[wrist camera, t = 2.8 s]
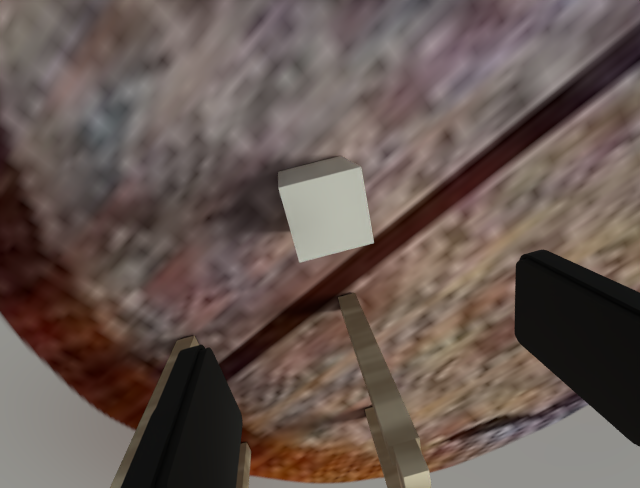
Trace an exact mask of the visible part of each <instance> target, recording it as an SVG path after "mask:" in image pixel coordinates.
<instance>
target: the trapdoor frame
mask: <svg viewBox="0 0 640 488" xmlns="http://www.w3.org/2000/svg"><path fill="white" fill-rule="evenodd" d="M338 300H339V304H340V308H341V312H342V315H343V318H344V321H345V324H346V327H347V330H348V333H349V336H350V339H351V342H352V345H353V348H354V351H355V354H356V357H357V360H358V363H359V366H360V369H361V372H362V375H363V378H364V381H365V384H366V387H367V390H368V393H369V396H370V399H371V403H372V406H373V407H371V408H368V409H365V413H366V417H367V420H368V424H369V427H370V431H371V434H372V437H373V441H374V444H375V447H376V451H377V454H378V457H379V461H380V464H381V467H382V471H383V474H384V477H385V481H386V484H387V487H388V488H431V482H430V474H429V469H428V467H427V465H426V462H425V460H424V458H423V455H422V453H421V446H420V440H419V436H418V434H417V432H416V429H415V427H414V425H413V423H412V420H411V418H410V416H409V414H408V411H407V409H406V407H405V405H404V402H403V400H402V398H401V396H400V393H399V391H398V389H397V387H396V384H395V382H394V380H393V378H392V375H391V373H390V371H389V369H388V366H387V364H386V362H385V360H384V357H383V355H382V353H381V351H380V348H379V346H378V344H377V342H376V339H375V337H374V335H373V333H372V330H371V328H370V326H369V324H368V321H367V319H366V317H365V315H364V312H363V310H362V308H361V306H360V303H359V301H358V299H357V297H356V295H355V293H352V294H348V295H345V296H341V297H338ZM197 345H199V344H198V342H197V340H196V338H195V336H191V337H187V338H184V339H180V340H177V341H176V344H175V346H174V348H173V350H172V352H171V355H170V357H169V359H168V361H167V363H166V366H165V368H164V370H163V372H162V374H161V377H160V379H159V381H158V383H157V385H156V388H155V390H154V392H153V394H152V396H151V399H150V401H149V403H148V405H147V407H146V410H145V412H144V414H143V416H142V418H141V421H140V423H139V425H138V427H137V429H136V432H135V434H134V436H133V438H132V441H131V443H130V445H129V447H128V449H127V452H126V454H125V456H124V458H123V460H122V462H121V465H120V467H119V469H118V471H117V474H116V476H115V478H114V480H113V482H112V484H111V487H110V488H121V485H122V483H123V481H124V478H125V476H126V473H127V471H128V469H129V466H130V464H131V462H132V459H133V457H134V455H135V452H136V450H137V447H138V445H139V443H140V440H141V438H142V436H143V433H144V431H145V429H146V426H147V424H148V421H149V419H150V417H151V415H152V413H153V411H154V410H155V409H156V406H157V404H158V401H159V399H160V397H161V394H162V392H163V389H164V387H165V385H166V382H167V380H168V377H169V375H170V373H171V370H172V368H173V366H174V363H175V361H176V358H177V356H178V354H179V352H180V351H181V350H183V349H186V348H190V347H194V346H197ZM250 460H251V450H250V448H249V446H248V444H247V442H246V443H242V444H240V454H239V464H238V473H237V483H236V488H248V485H249V472H250Z"/></svg>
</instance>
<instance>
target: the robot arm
mask: <svg viewBox="0 0 640 488" xmlns="http://www.w3.org/2000/svg"><path fill="white" fill-rule="evenodd" d="M515 336H516V338H517V340H518V341H519V343H520V344H521V345H522V346H523V347H524V348H526V349H527V350H528V351H529V352H530V353H531V354H532V355H534V356H535V357H536V358H537V359H538V360H539V361H540V362H542V363H543V364H544V365H545V366H546V367H547V368H548V369H549V370H551V371H552V372H553V373H554V374H555V375H556V376H557V377H559V378H560V379H561V380H562V381H563V382H564V383H565V384H566V385H568V386H569V387H570V388H571V389H572V390H573V391H574V392H576V393H577V394H578V395H579V396H580V397H581V398H582V399H583V400H585V401H586V402H587V403H588V404H589V405H590V406H592V407H593V408H594V409H595V410H596V411H597V412H598V413H599V414H600V415H602V416H603V417H604V418H605V419H606V420H607V421H608V422H610V423H611V424H612V425H613V426H614V427H615V428H616V429H617V430H619V431H620V432H621V433H622V434H623V435H624V436H625V437H627V438H628V439H629V440H630V441H631V442H633V443H634V444H636V445H638V446H640V293H639V292H637V291H635V290H633V289H630V288H628V287H626V286H624V285H622V284H619V283H617V282H615V281H613V280H611V279H608V278H606V277H604V276H602V275H600V274H597V273H595V272H593V271H591V270H589V269H586V268H584V267H582V266H580V265H578V264H575V263H573V262H571V261H569V260H567V259H564V258H562V257H560V256H558V255H556V254H553V253H551V252H549V251H547V250H538V251H535V252H531V253H527V254H524V255H522V256H521V257H520V260H519V261H518V262H517V264H516V286H515ZM241 435H242V415H241V412H240V410H239V408H238V405H237V403H236V401H235V399H234V397H233V395H232V392H231V390H230V388H229V386H228V384H227V381H226V379H225V377H224V375H223V373H222V371H221V368H220V366H219V364H218V362H217V360H216V358H215V355H214V353H213V351H212V349H211V348H206V349H205V347H204V346H203V345H197V346H194V347H190V348H186V349H183V350H181V351H180V352H179V354H178V356H177V358H176V361H175V363H174V366H173V368H172V370H171V373H170V375H169V377H168V380H167V382H166V385H165V387H164V389H163V392H162V394H161V397H160V399H159V401H158V404H157V406H156V409H155V410H154V411H153V413H152V415H151V417H150V419H149V421H148V424H147V426H146V429H145V431H144V433H143V436H142V438H141V440H140V443H139V445H138V447H137V450H136V452H135V455H134V457H133V459H132V462H131V464H130V466H129V469H128V471H127V473H126V476H125V478H124V481H123V483H122V485H121V488H236V483H237V473H238V464H239V454H240V444H241Z"/></svg>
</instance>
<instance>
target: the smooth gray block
mask: <svg viewBox="0 0 640 488" xmlns="http://www.w3.org/2000/svg"><path fill="white" fill-rule="evenodd" d="M278 188H279V192H280V195H281V199H282V203H283V206H284V210H285V213H286V217H287V220H288V224H289V227H290V231H291V234H292V238H293V241H294V245H295V248H296V252H297V255H298V259H299V262H304V261H307V260H311V259H315V258H319V257H323V256H326V255H330V254H334V253H338V252H342V251H345V250H349V249H353V248H357V247H361V246H364V245H368V244H372V243H374V240H373V234H372V228H371V222H370V216H369V211H368V205H367V199H366V193H365V187H364V181H363V175H362V170H361V167H360V166H359V165H357V164H355V163H353V162H352V161H350V160H348V159H346V158H345V157H343V156H338V157H334V158H330V159H326V160H323V161H319V162H315V163H311V164H307V165H303V166H299V167H295V168H291V169H287V170H283V171H279V172H278Z"/></svg>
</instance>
